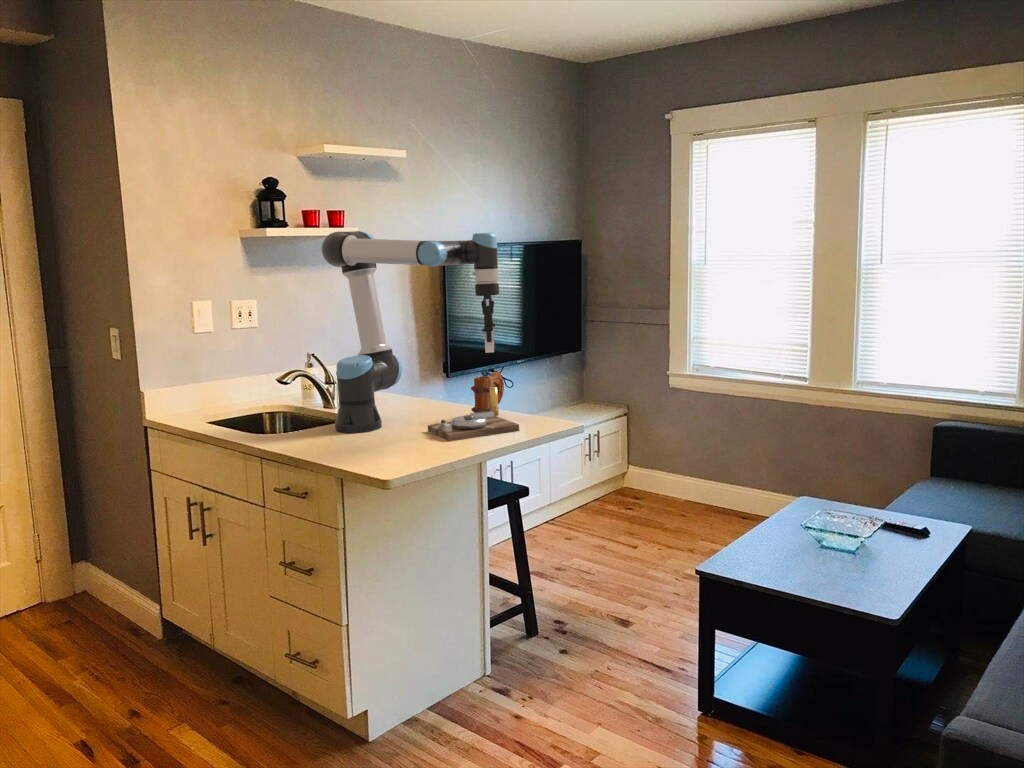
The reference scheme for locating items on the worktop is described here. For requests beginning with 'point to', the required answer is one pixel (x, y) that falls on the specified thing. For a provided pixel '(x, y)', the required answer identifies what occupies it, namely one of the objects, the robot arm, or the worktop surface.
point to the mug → (486, 391)
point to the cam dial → (478, 415)
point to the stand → (493, 427)
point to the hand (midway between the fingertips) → (489, 350)
